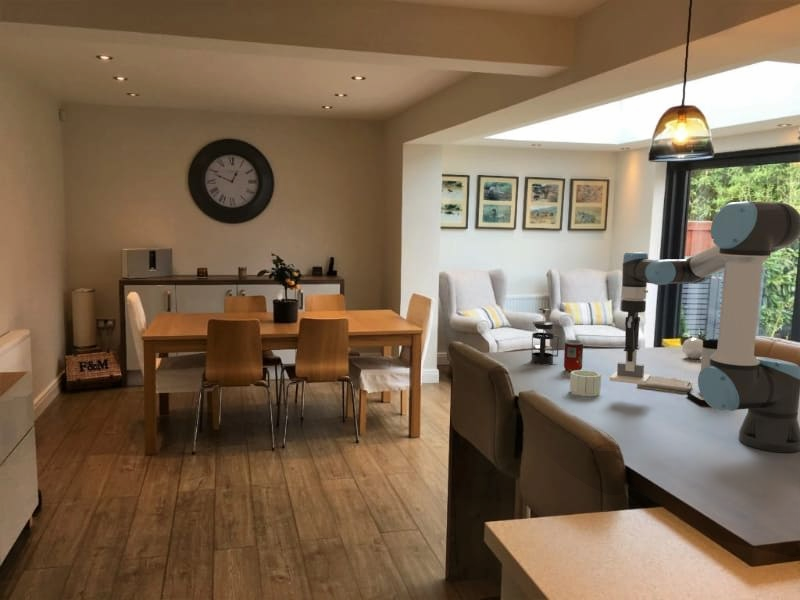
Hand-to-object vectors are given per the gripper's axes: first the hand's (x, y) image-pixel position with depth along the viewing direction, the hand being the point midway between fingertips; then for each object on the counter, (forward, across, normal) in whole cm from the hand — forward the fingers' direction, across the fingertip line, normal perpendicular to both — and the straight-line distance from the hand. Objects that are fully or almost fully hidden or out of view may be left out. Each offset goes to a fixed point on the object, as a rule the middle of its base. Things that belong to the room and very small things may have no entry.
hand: (630, 369), depth 213 cm
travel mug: (+11, +24, -22) cm, 34 cm away
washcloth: (+11, +26, -8) cm, 30 cm away
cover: (+3, 0, 0) cm, 3 cm away
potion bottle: (+10, +86, -15) cm, 88 cm away
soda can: (+10, +34, +28) cm, 45 cm away
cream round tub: (+11, +4, +16) cm, 19 cm away
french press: (+10, +44, +42) cm, 62 cm away
